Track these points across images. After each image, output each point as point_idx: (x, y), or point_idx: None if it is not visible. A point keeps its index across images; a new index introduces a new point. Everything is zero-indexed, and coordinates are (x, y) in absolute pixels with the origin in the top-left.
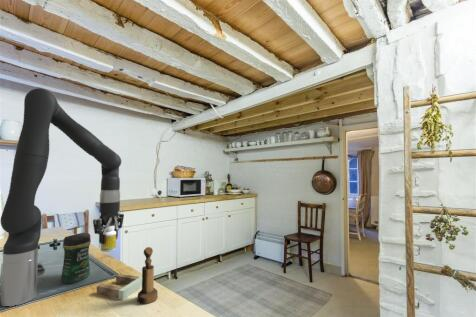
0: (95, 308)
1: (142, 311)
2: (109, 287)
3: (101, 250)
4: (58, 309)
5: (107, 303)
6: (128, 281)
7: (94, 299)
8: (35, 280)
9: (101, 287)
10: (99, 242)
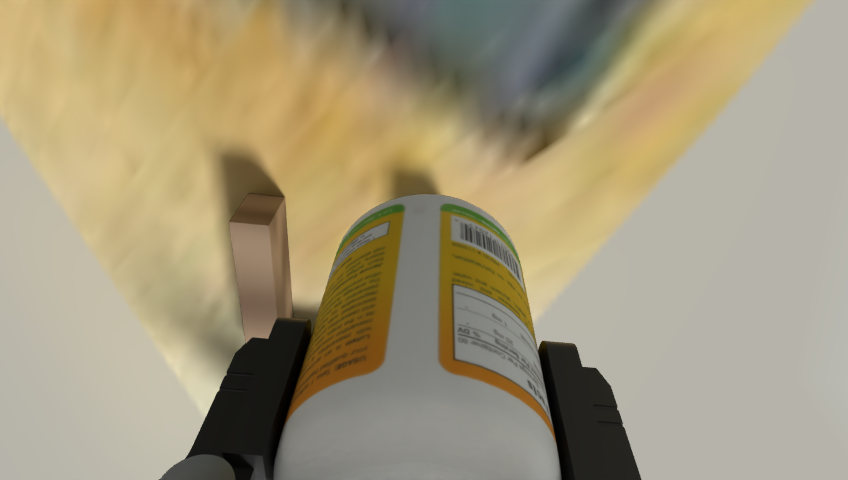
0: (149, 284)
1: None
2: (250, 304)
3: (343, 239)
4: (23, 103)
5: (208, 307)
6: None
7: (203, 221)
8: None
9: (234, 255)
10: (251, 338)
